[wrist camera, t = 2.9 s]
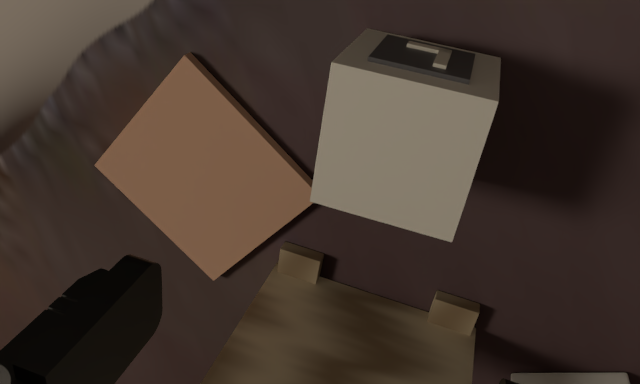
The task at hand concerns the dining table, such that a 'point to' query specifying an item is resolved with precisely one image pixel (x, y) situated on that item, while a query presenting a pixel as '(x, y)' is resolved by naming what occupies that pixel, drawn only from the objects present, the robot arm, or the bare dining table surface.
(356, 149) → the cube
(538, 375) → the milk
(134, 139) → the coaster
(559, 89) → the dining table surface
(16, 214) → the dining table surface
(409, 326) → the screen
